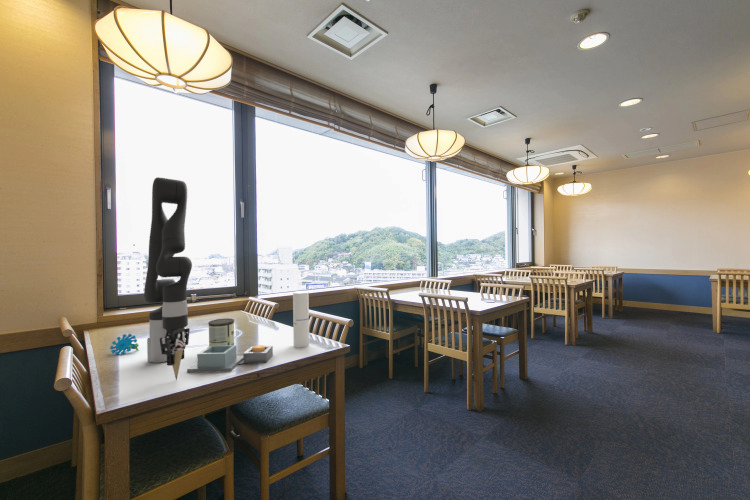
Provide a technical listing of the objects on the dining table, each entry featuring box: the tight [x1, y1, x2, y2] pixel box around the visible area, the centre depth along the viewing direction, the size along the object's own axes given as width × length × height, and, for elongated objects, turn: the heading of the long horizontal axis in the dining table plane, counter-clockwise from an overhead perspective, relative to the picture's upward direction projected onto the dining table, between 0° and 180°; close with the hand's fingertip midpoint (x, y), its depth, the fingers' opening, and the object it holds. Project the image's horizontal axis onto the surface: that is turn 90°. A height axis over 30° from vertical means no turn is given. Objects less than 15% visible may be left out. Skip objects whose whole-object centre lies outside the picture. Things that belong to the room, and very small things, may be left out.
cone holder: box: [186, 344, 244, 373], centre depth 127 cm, size 16×14×6 cm
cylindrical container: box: [292, 290, 310, 349], centre depth 151 cm, size 7×7×25 cm
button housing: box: [242, 345, 274, 364], centre depth 133 cm, size 9×9×4 cm
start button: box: [252, 344, 266, 352], centre depth 133 cm, size 5×5×3 cm
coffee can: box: [207, 318, 235, 347], centre depth 141 cm, size 10×10×14 cm
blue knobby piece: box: [109, 333, 140, 356], centre depth 144 cm, size 11×6×10 cm
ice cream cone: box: [170, 340, 186, 381], centre depth 112 cm, size 6×6×15 cm
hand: (175, 361), depth 112 cm, fingers closed on ice cream cone, 5 cm apart
